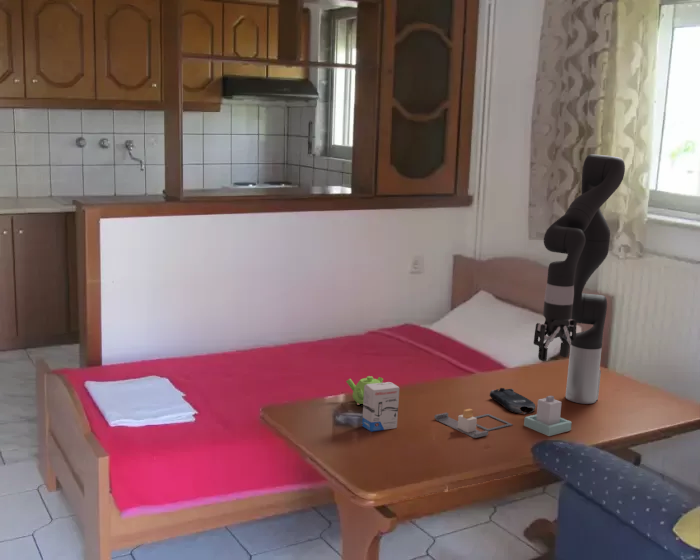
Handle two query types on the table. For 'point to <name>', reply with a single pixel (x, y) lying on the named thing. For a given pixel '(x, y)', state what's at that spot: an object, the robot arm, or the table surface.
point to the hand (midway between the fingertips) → (553, 358)
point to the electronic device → (511, 400)
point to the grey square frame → (494, 427)
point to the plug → (548, 410)
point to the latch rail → (454, 424)
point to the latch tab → (467, 421)
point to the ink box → (380, 406)
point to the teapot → (362, 387)
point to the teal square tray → (547, 426)
